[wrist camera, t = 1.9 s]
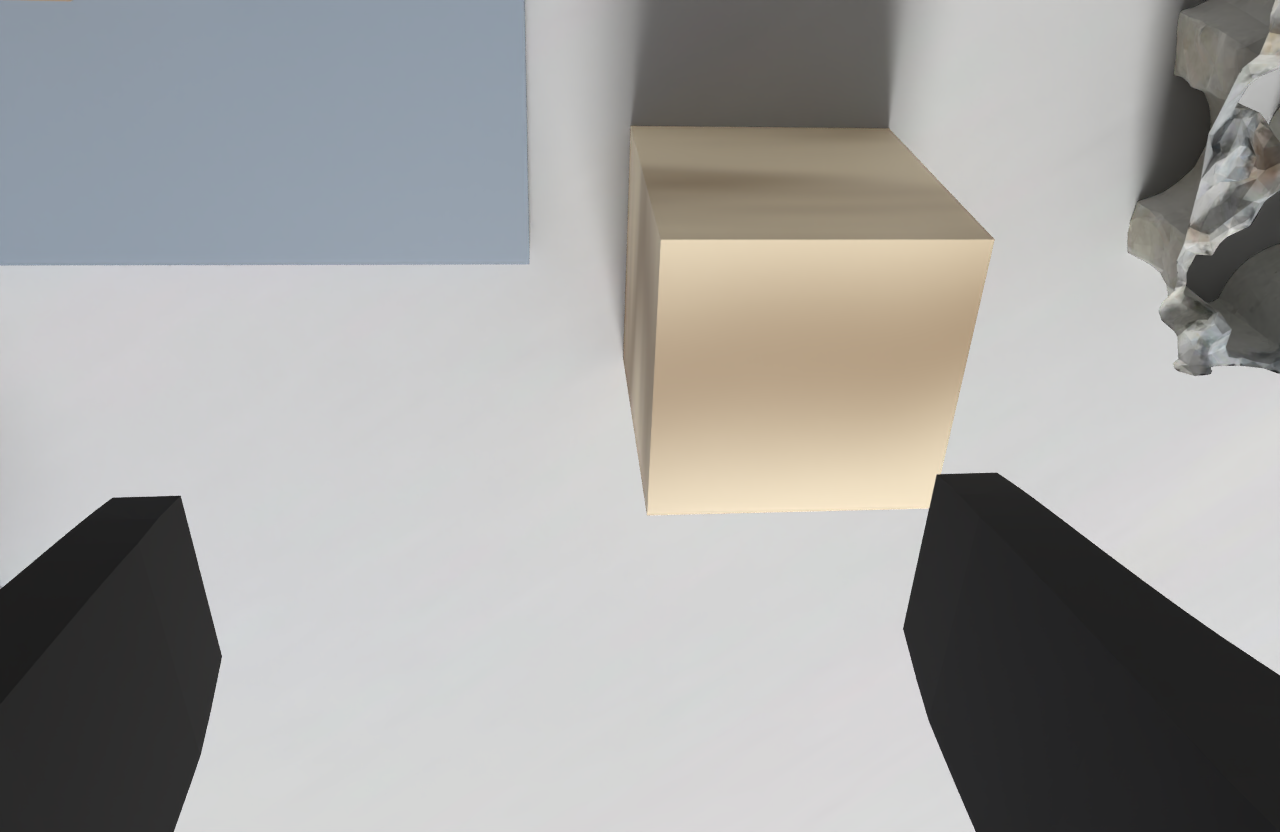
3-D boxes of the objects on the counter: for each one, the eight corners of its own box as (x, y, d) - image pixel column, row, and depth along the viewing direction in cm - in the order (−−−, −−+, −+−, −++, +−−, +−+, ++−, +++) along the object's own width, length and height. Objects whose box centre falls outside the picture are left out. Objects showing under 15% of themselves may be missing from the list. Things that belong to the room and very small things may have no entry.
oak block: (851, 354, 21) (932, 508, 16) (622, 356, 20) (647, 515, 16) (888, 127, 18) (994, 239, 14) (630, 124, 18) (660, 239, 14)
